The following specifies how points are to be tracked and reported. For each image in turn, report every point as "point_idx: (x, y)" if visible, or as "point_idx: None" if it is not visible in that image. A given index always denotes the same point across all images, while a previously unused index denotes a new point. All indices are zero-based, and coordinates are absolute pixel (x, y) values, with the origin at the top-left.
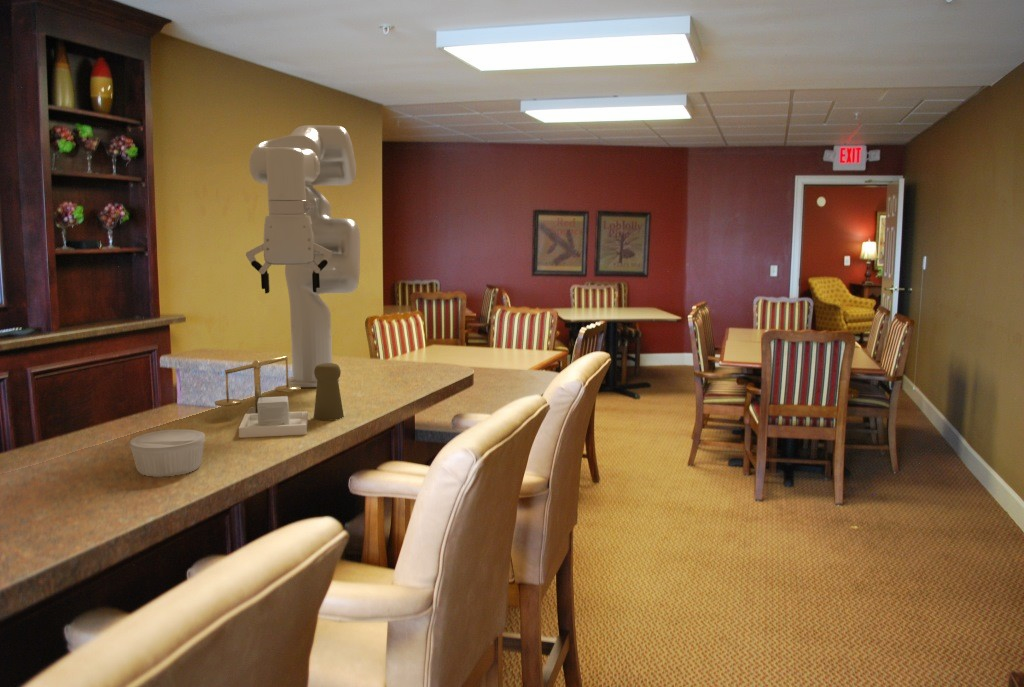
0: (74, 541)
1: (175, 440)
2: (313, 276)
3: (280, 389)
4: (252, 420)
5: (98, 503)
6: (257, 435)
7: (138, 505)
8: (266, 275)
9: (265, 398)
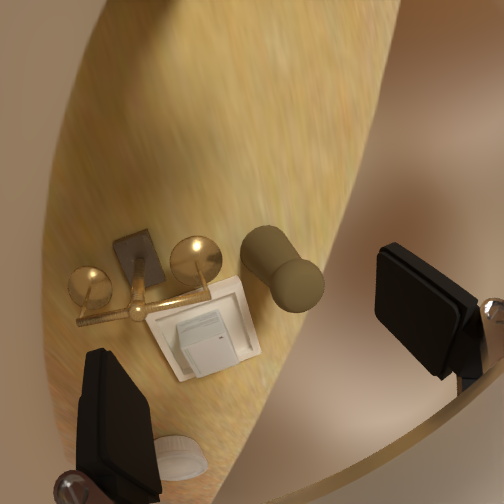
0: (201, 499)
1: (189, 471)
2: (431, 369)
3: (189, 282)
4: (160, 318)
5: (175, 482)
6: None
7: (201, 480)
8: (157, 495)
9: (196, 353)
